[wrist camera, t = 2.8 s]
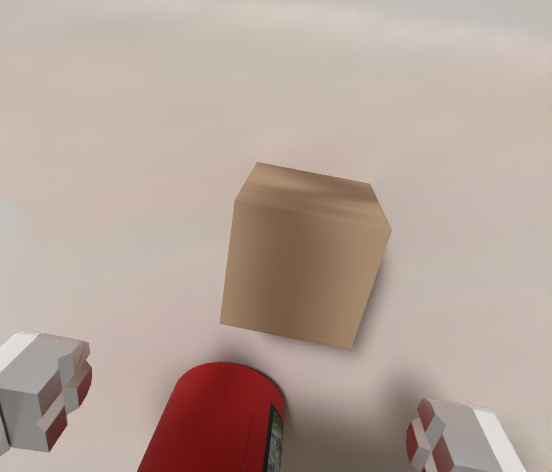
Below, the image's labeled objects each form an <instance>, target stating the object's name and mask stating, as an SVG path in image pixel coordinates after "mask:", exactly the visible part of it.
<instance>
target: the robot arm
mask: <svg viewBox="0 0 552 472" xmlns="http://www.w3.org/2000/svg"><path fill="white" fill-rule="evenodd" d="M89 354H90V349H89V343H88V342H85V341H81V340H76V339H71V338H66V337H61V336H56V335H51V334H46V333H44V334H43V333H38V332H33V331H28V330H22V331H20V332H17V333H15V334H14V335H13V336H12V337H11V338H10V339H9V340H8V341H7V342H5V343H4V345H2V346H1V347H0V456H1V455H3V454H4V453H5V452H7V451H8V450H9V449H10V448H9V447H13V448H20V449H28V450H35V451H42V452H50V450H51V449H52V447H53V446H54V444H55V443H56V441H57V440H58V438H59V437H60V435H61V434H62V432H63V431H64V429H65V428H66V426H67V425H68V424H67V414H69V413H71V412H72V411H74V410H76V409H77V408H79V407H80V405H81V404H82V402H83V400H84V399H85V397H86V395H87V393H88V390H89V388H90V385H91V380H92V367H91V366H90V365H89V364H88V362H87V361H86V358H87V357H88V356H89ZM417 410H418V413H419V417H418V418H416V419H414V420H412V421H411V423H410V425H409V428H408V430H407V439H406V445H407V453H408V457H409V461H410V464H411V465H412V467H413V468H414V469H415V470H416V471H417V472H526V470H525V468H524V466H523V465H522V463H521V461H520V459H519V457H518V456H517V454H516V452H515V450H514V448H513V447H512V445H511V443H510V441H509V439H508V438H507V436H506V434H505V432H504V430H503V429H502V427H501V425H500V423H499V421H498V419H497V418H496V416H495V414H494V413H493V412H492V411H491V410H490V409H489V408H483V407H477V406H471V405H464V404H459V403H453V402H446V401H440V400H433V399H427V398H425V399H423V400H422V401H421V402H420V404H419V406H418V408H417Z"/></svg>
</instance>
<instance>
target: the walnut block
mask: <svg viewBox="0 0 552 472" xmlns="http://www.w3.org/2000/svg"><path fill="white" fill-rule="evenodd" d="M391 231H392V229H391V227H390V225H389V223H388V221H387V219H386V217H385V215H384V212H383V210H382V208H381V206H380V204H379V202H378V200H377V198H376V196H375V194H374V192H373V189H372V187H371V185H370V184H368V183H363V182H358V181H353V180H347V179H342V178H337V177H332V176H326V175H321V174H316V173H311V172H305V171H300V170H295V169H290V168H284V167H279V166H274V165H269V164H263V163H258V162H257V164H256V165H255V167H254V169H253V170H252V172H251V174H250V176H249V177H248V179H247V181H246V182H245V184H244V186H243V187H242V189H241V191H240V192H239V194H238V196H237V197H236V199H235V204H234V212H233V220H232V228H231V236H230V244H229V253H228V261H227V269H226V277H225V285H224V293H223V301H222V310H221V318H220V324H224V325H229V326H234V327H239V328H244V329H249V330H254V331H259V332H264V333H269V334H274V335H279V336H284V337H290V338H295V339H300V340H305V341H310V342H315V343H320V344H325V345H330V346H335V347H340V348H345V349H350V350H351V348H352V345H353V342H354V339H355V336H356V333H357V331H358V328H359V325H360V322H361V319H362V316H363V313H364V310H365V307H366V304H367V301H368V298H369V296H370V293H371V290H372V287H373V284H374V281H375V278H376V275H377V272H378V269H379V266H380V263H381V261H382V258H383V255H384V252H385V249H386V246H387V243H388V240H389V237H390V234H391Z"/></svg>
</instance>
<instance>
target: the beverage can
mask: <svg viewBox="0 0 552 472" xmlns="http://www.w3.org/2000/svg"><path fill="white" fill-rule="evenodd" d="M284 411H285V410H284V402H283V399H282V396H281V394H280V392H279V391H278V389H277V388H276V387H275V386H274V384H273V383H272V382H271V381H270V380H268V379H267V378H266V377H265V376H263V375H262V374H260V373H259V372H257V371H255V370H253V369H250V368H248V367H245V366H242V365H238V364H234V363H226V362H214V363H207V364H203V365H200V366H197V367H194V368H192V369H191V370H189V371H187V372H186V373H185V374H184V375H183V376H182V377H181V378H180V379H179V380H178V382H177V384H176V386H175V388H174V390H173V392H172V394H171V397H170V399H169V401H168V403H167V405H166V408H165V410H164V412H163V414H162V416H161V419H160V421H159V423H158V425H157V428H156V430H155V432H154V434H153V437H152V439H151V441H150V443H149V446H148V448H147V450H146V452H145V454H144V457H143V459H142V461H141V464H140V466H139V468H138V470H137V472H280V464H281V452H282V438H283V424H284Z"/></svg>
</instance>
